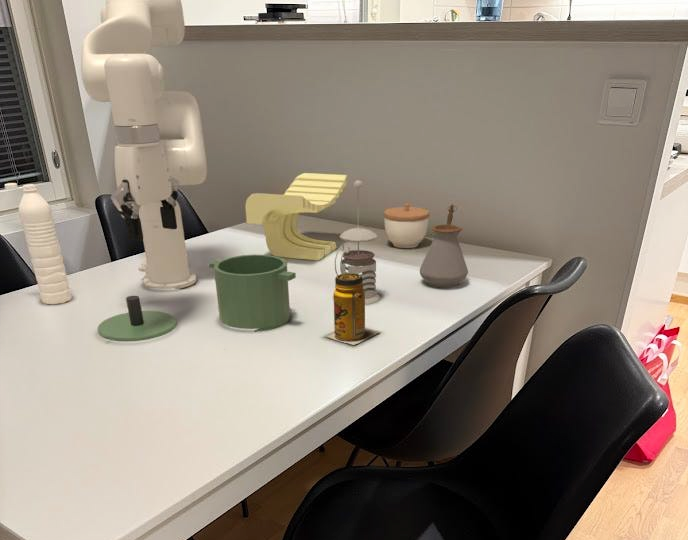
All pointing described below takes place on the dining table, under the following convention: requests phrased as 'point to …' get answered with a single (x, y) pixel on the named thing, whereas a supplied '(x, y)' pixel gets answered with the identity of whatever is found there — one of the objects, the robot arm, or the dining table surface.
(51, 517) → the dining table surface
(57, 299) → the water bottle
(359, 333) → the condiment
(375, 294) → the french press
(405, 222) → the lidded bowl
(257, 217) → the slatted curved stool
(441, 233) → the coffee pot
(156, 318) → the lid
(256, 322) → the chamber
